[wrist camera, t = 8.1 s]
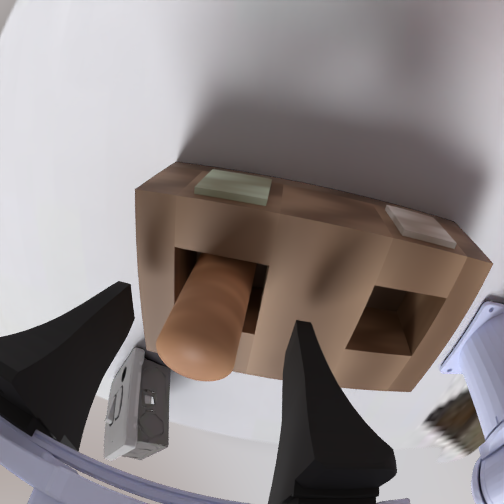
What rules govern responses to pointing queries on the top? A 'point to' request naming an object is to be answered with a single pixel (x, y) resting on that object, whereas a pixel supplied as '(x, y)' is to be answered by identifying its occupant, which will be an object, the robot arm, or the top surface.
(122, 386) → the electrical switch
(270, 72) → the top surface
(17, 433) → the robot arm
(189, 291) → the peg
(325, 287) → the socket block
